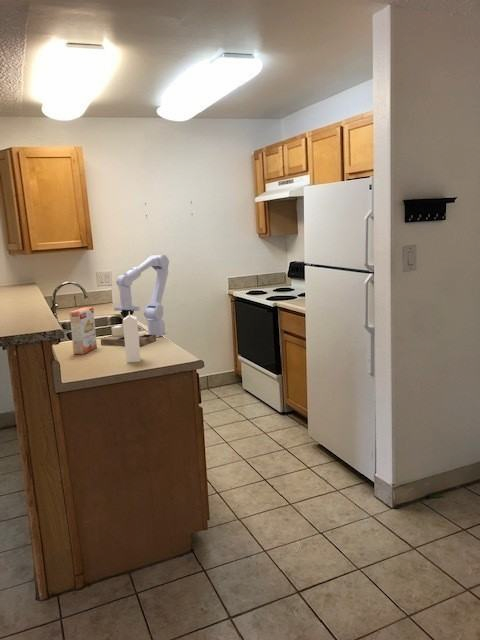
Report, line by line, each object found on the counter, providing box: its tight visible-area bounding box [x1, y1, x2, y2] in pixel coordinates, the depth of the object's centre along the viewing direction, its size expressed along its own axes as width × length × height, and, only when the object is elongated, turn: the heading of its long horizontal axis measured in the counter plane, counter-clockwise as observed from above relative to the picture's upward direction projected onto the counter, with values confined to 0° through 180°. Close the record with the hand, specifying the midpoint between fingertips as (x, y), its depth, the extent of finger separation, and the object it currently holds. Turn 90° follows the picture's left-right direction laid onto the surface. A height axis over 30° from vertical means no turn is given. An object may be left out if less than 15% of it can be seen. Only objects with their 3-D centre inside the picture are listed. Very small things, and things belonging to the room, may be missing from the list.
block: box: [110, 325, 124, 336], centre depth 282 cm, size 4×4×4 cm
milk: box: [122, 311, 142, 363], centre depth 236 cm, size 6×6×22 cm
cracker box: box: [69, 306, 98, 355], centre depth 261 cm, size 14×6×21 cm, turn 168°
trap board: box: [100, 333, 157, 348], centre depth 276 cm, size 15×24×3 cm, turn 66°
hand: (128, 324), depth 276 cm, fingers closed
